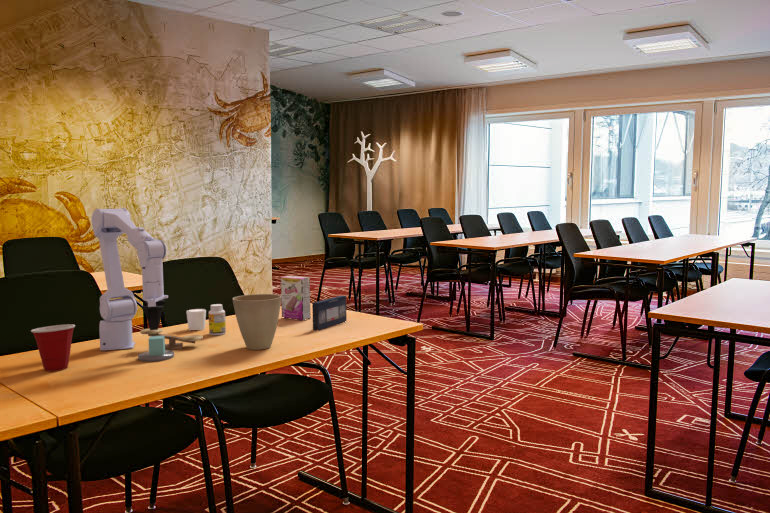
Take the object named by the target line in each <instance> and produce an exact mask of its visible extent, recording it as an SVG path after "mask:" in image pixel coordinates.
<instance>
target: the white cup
mask: <svg viewBox="0 0 770 513" xmlns="http://www.w3.org/2000/svg"><path fill="white" fill-rule="evenodd" d="M206 317H207V310H206V309H205V308H194V309H193V308H192V309H189V310H188V309H187V310H186V320H187V325H188V326H187V327H188V330H189V331H190V330H200V331H204V330H205V329H206ZM203 329H204V330H203Z"/></svg>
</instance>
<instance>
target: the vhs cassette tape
mask: <svg viewBox="0 0 770 513" xmlns="http://www.w3.org/2000/svg"><path fill="white" fill-rule="evenodd" d="M311 307H312V308H311V310H312V330H313V331H321V330H325V329H328V328H330V327H334V326H337V324H338V325H340V323H341V324H344V323H346V322H347V318H348V317H347V295H339V296H335V297H334V296H333V297H330V298H326V299H322V300H319V301H315V302H312V306H311ZM345 321H346V322H345ZM343 322H344V323H343Z"/></svg>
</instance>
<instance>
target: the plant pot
mask: <svg viewBox="0 0 770 513" xmlns="http://www.w3.org/2000/svg"><path fill="white" fill-rule="evenodd" d="M232 304H233V308H234V313H235V318H236V322H237V324H238V325H237V326H238V329H239V332H240V334H241V337H242V340H243V342H244V344H245V347H246V349H248V350H253V351H257V350H258V351H259V350H266V349H269V348H271V347H272V344H273V341H274V338H275V334H276V331H277V327H278V322H279V317H280V312H281V294H276V293H275V294H274V293H273V294H272V293H257V294H255V293H254V294H244V295H238V296H234V297H232Z"/></svg>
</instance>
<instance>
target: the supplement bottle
mask: <svg viewBox="0 0 770 513" xmlns="http://www.w3.org/2000/svg"><path fill="white" fill-rule="evenodd" d="M208 329H209V330H208V332H209V335H210V336H222V335H225V334H226V332H227V327H226V311H225V310H224V308H223V304H221V303H216V304H215V303H214V304H210V310H209V311H208Z"/></svg>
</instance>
